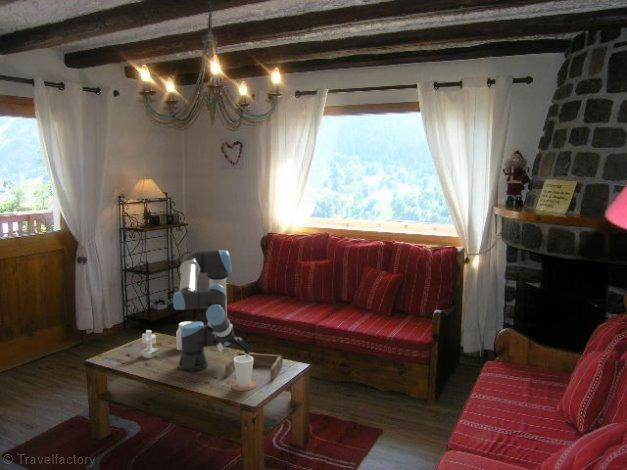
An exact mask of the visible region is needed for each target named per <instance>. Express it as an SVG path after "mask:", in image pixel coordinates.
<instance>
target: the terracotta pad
mask: <svg viewBox="0 0 627 470" xmlns="http://www.w3.org/2000/svg"><path fill="white" fill-rule="evenodd" d="M256 387H257V382H256V381H255V380H253V379H251V384H250V386H248V387H239V386H238V385H237V380H235V381H233V382H232V383H231V389H233V391H234V390H235V391H238V392H239V391H240V392H249V391H251V390H253V389H255V388H256Z"/></svg>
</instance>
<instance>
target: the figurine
mask: <svg viewBox="0 0 627 470" xmlns="http://www.w3.org/2000/svg"><path fill="white" fill-rule="evenodd" d="M152 332H153V331H152V330H150V329H146V330H145V333H142V335H141V339H142V340H141V341H142V344H146V348H144V349H142V350H140V354H141V355H142V357H143V358H145V359H146V358H147V359H151V358H154V357H156V356H157V353H158V352H159V350H160V348H157V347H153V344H154V345H155V344H156V343H157V340H156V335H155V334H152Z"/></svg>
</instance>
